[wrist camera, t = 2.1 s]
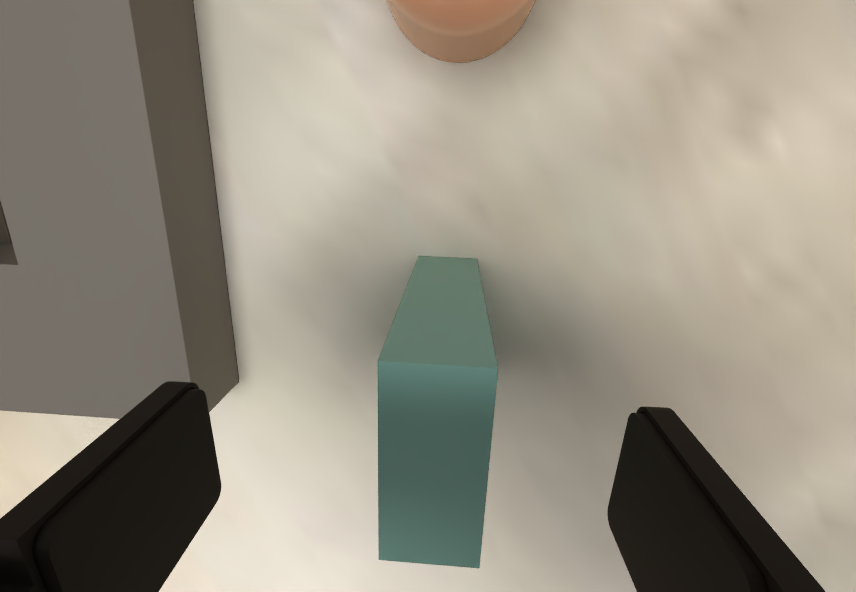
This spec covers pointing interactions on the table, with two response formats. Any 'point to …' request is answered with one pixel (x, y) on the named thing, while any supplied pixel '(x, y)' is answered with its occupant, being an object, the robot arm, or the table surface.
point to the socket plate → (107, 209)
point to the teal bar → (436, 417)
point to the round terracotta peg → (459, 25)
